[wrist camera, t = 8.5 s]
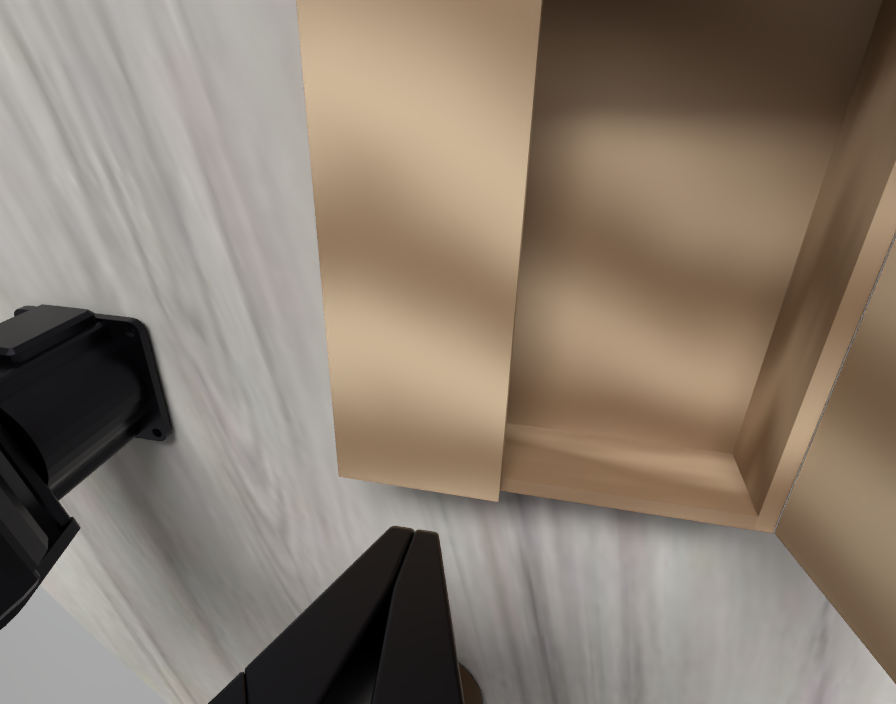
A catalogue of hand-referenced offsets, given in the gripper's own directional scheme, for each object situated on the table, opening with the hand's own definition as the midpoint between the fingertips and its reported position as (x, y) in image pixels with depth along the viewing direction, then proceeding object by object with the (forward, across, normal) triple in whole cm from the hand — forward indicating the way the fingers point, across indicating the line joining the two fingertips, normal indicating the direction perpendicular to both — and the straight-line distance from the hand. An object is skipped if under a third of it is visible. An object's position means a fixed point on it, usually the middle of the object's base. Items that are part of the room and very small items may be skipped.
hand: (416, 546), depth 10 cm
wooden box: (+12, -3, -2) cm, 13 cm away
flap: (+9, +2, -2) cm, 9 cm away
